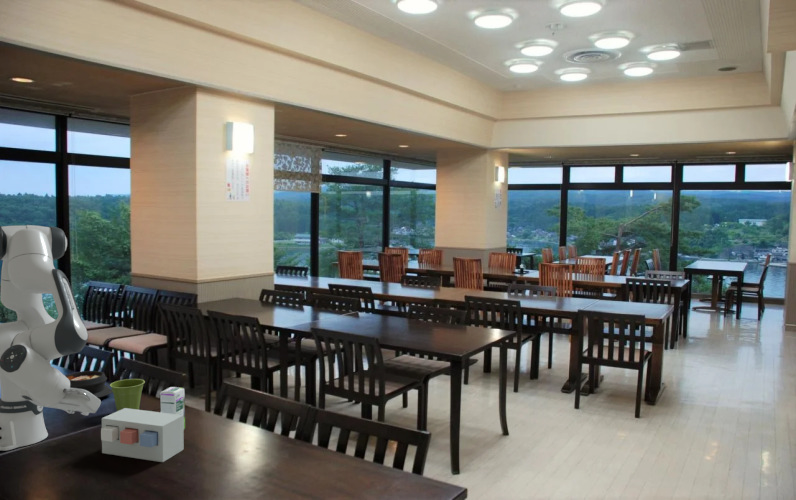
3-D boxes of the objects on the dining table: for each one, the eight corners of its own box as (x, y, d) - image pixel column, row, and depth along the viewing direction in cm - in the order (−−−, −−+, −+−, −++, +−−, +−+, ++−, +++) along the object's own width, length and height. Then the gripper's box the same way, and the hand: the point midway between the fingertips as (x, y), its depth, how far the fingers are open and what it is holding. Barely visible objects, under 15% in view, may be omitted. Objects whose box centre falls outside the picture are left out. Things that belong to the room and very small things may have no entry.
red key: (120, 442, 175) (120, 431, 175) (127, 439, 178) (127, 428, 178) (131, 444, 174) (131, 433, 174) (138, 440, 177) (138, 429, 176)
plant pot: (150, 407, 222) (150, 378, 222) (137, 418, 210) (137, 387, 210) (119, 407, 222) (118, 378, 221) (104, 418, 210) (103, 387, 209)
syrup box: (176, 434, 196) (175, 392, 195) (160, 433, 197) (160, 391, 196) (185, 428, 201) (185, 387, 200) (170, 427, 202) (169, 386, 202)
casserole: (41, 397, 232) (41, 376, 231) (83, 385, 249) (83, 366, 248) (84, 407, 221) (83, 385, 221) (125, 394, 238) (125, 373, 238)
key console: (102, 453, 180) (101, 418, 179) (125, 441, 190) (124, 407, 189) (162, 462, 174) (162, 426, 173) (183, 449, 184) (183, 415, 183)
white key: (101, 440, 177) (100, 428, 176) (108, 436, 180) (108, 425, 179) (112, 441, 176) (111, 430, 175) (119, 438, 179) (119, 427, 178)
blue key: (140, 445, 173) (139, 434, 173) (146, 442, 176) (146, 430, 176) (151, 447, 172) (151, 435, 172) (158, 443, 175) (158, 432, 175)
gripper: (88, 381, 155) (116, 405, 165) (27, 374, 161) (57, 398, 171) (75, 402, 151) (104, 426, 161) (13, 395, 157) (45, 418, 167)
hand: (80, 412), depth 166 cm, fingers open, 3 cm apart
